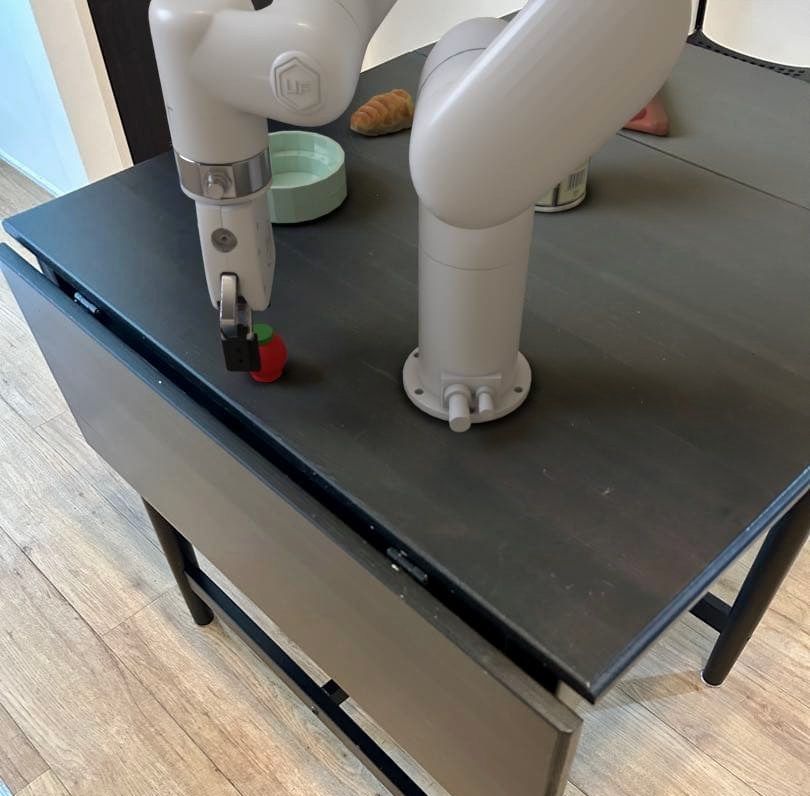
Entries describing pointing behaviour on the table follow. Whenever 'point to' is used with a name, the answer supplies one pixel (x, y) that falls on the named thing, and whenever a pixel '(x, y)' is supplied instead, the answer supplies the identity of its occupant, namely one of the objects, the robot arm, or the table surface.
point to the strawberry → (269, 354)
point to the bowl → (305, 176)
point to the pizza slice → (651, 118)
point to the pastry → (384, 114)
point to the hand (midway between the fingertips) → (249, 336)
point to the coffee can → (566, 191)
